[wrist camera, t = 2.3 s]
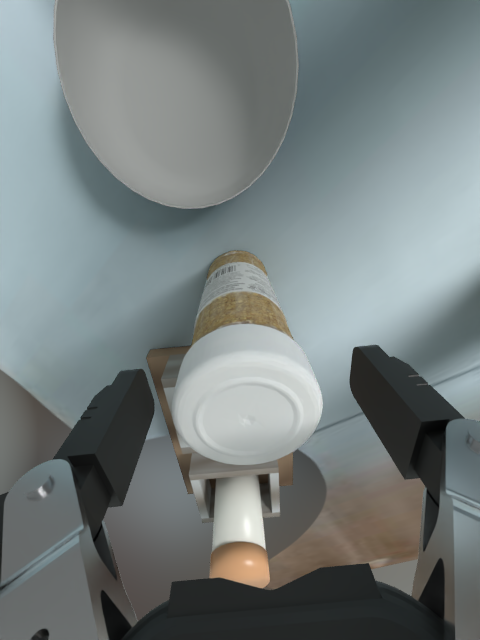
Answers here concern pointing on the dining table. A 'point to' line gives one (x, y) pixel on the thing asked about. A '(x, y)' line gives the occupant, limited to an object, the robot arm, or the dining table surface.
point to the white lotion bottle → (239, 532)
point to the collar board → (205, 470)
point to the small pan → (179, 91)
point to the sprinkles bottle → (244, 371)
